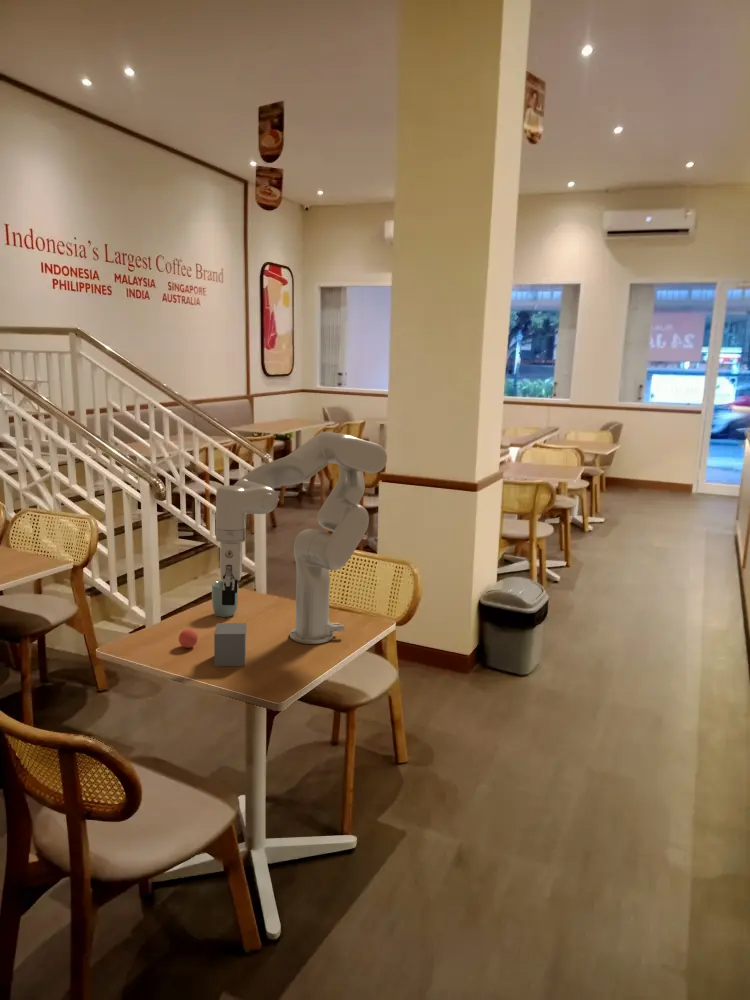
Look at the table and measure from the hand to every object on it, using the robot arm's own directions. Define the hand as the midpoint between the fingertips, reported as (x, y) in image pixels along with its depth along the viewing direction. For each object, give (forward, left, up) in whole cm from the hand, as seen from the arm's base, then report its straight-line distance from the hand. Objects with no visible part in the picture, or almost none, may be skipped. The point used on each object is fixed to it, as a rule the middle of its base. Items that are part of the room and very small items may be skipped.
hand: (229, 598), depth 184 cm
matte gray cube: (0, 0, -17) cm, 17 cm away
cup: (+4, -34, -17) cm, 38 cm away
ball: (+12, -9, -15) cm, 21 cm away
